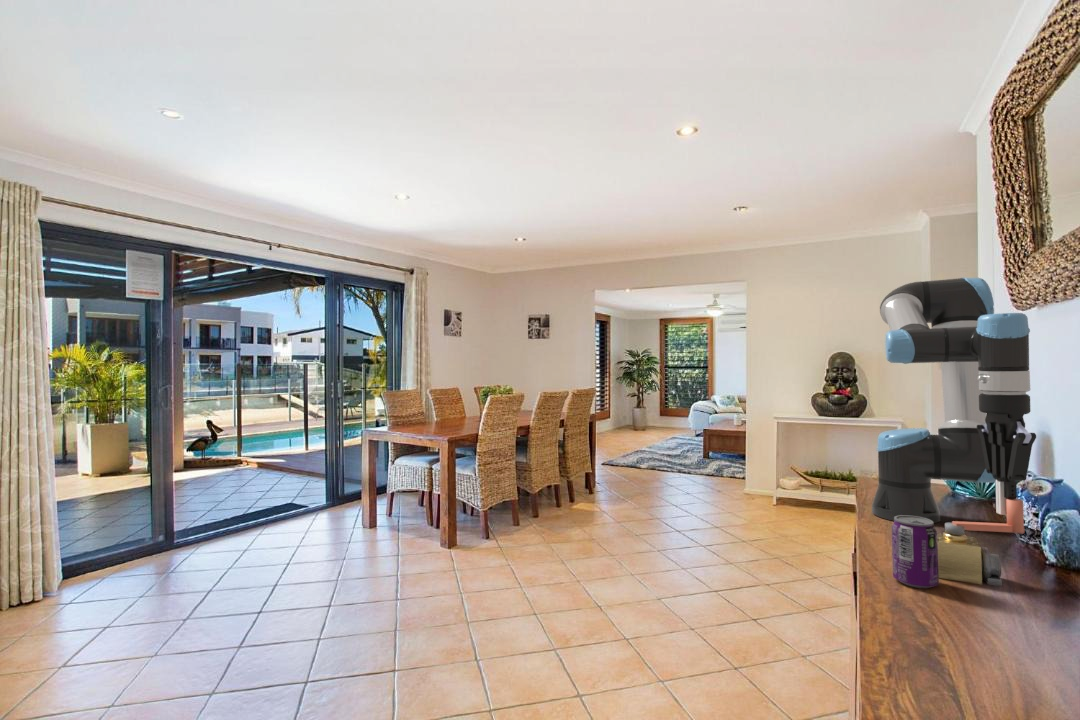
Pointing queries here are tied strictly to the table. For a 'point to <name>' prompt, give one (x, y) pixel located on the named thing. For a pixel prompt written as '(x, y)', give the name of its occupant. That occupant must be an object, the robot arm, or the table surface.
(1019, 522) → the lever
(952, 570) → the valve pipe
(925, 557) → the beverage can
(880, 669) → the table surface
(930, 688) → the table surface
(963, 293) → the robot arm
